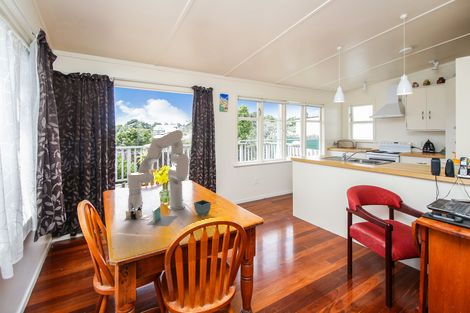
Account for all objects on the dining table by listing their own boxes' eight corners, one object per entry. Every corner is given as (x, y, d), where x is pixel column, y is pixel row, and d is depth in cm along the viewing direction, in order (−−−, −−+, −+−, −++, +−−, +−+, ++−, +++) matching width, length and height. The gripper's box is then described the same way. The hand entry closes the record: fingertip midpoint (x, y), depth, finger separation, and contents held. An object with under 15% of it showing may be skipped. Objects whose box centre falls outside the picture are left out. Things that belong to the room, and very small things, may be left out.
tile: (158, 217, 152) (158, 206, 151) (160, 217, 151) (160, 206, 150) (152, 222, 144) (152, 210, 143) (155, 222, 144) (154, 210, 143)
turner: (124, 219, 150) (123, 212, 149) (130, 215, 157) (129, 208, 156) (148, 220, 148) (147, 213, 147) (153, 216, 155) (152, 209, 154)
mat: (158, 216, 156) (158, 215, 156) (177, 216, 154) (177, 216, 154) (146, 225, 140) (146, 224, 140) (167, 226, 138) (167, 226, 138)
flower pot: (201, 218, 152) (201, 205, 151) (193, 214, 158) (193, 202, 157) (211, 214, 158) (211, 202, 157) (203, 211, 164) (203, 199, 163)
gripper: (137, 188, 159) (138, 212, 162) (122, 194, 142) (123, 222, 144) (147, 188, 159) (148, 212, 161) (133, 195, 141) (134, 222, 143)
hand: (136, 216), depth 152 cm, fingers open, 6 cm apart
